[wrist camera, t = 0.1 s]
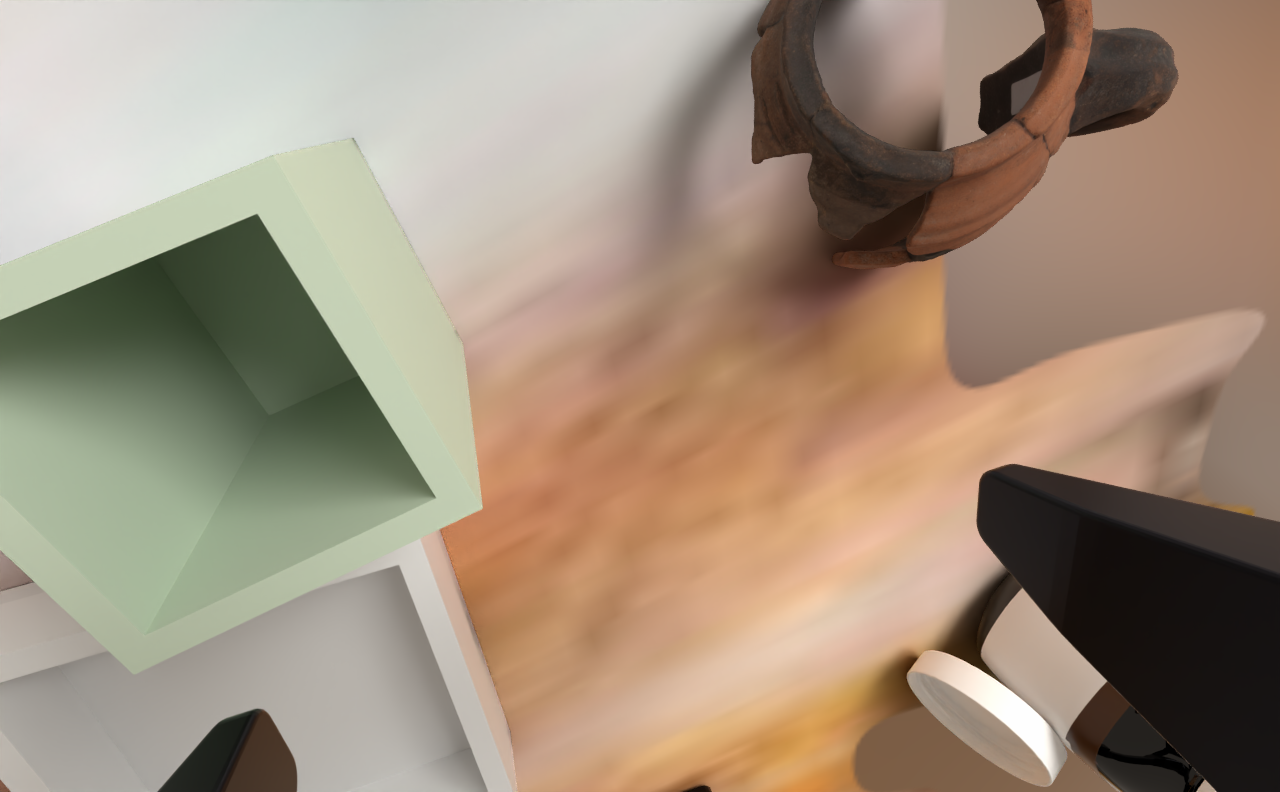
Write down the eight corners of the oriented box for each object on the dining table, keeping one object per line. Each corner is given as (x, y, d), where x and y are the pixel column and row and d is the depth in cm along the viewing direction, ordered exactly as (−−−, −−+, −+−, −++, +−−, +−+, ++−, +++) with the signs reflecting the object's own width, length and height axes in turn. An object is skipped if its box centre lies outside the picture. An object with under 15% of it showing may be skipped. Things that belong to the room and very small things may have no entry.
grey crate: (510, 732, 27) (519, 810, 24) (183, 847, 25) (147, 949, 22) (421, 476, 22) (418, 534, 19) (-4, 592, 20) (-86, 680, 17)
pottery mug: (756, 310, 24) (792, 260, 16) (705, 58, 24) (713, -120, 16) (1096, 239, 23) (1321, 148, 15) (1039, -20, 23) (1229, -251, 15)
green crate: (462, 343, 21) (483, 509, 12) (266, 431, 20) (133, 674, 11) (353, 137, 18) (273, 154, 9) (119, 233, 17) (-213, 351, 8)
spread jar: (1133, 577, 36) (1417, 764, 25) (999, 731, 38) (1212, 962, 27) (1008, 496, 31) (1300, 688, 20) (861, 679, 33) (1059, 939, 22)
